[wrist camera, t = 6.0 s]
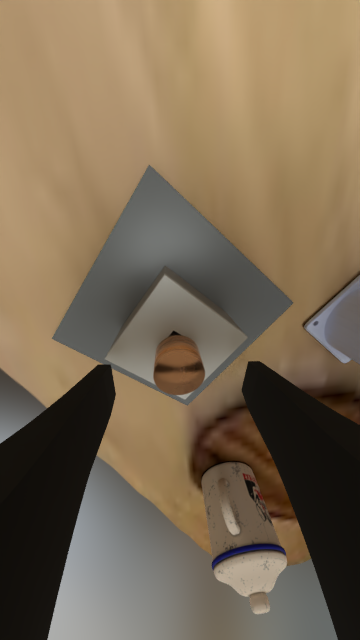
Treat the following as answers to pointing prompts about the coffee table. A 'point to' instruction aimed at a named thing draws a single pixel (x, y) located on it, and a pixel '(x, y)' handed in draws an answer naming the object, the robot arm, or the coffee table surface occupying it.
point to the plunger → (178, 365)
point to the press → (168, 290)
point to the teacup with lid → (241, 533)
